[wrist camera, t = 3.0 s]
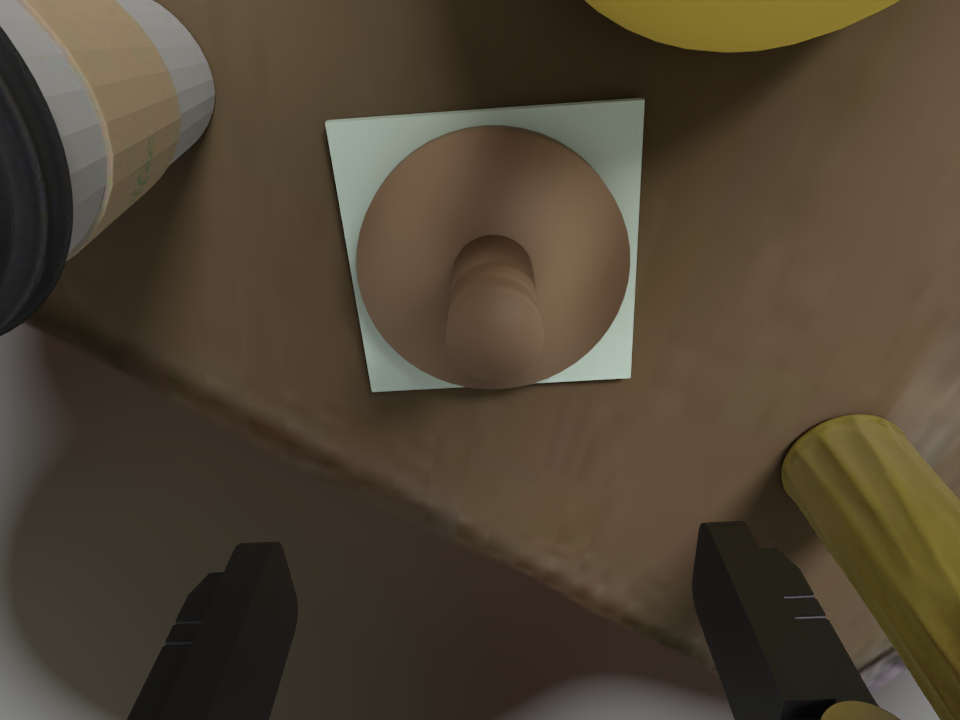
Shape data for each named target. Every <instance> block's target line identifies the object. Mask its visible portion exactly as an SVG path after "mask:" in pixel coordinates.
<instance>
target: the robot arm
mask: <svg viewBox="0 0 960 720" xmlns="http://www.w3.org/2000/svg"><path fill="white" fill-rule="evenodd" d="M692 591H693V599H694V605H695V609H696V613H697V616H698V619H699V622H700V624H701V627H702V630H703V633H704V636H705V638H706V641H707V644H708V647H709V650H710V652H711V655H712V658H713V661H714V663H715V666H716V669H717V672H718V675H719V677H720V680H721V683H722V686H723V689H724V691H725V694H726V697H727V700H728V702H729V705H730V708H731V711H732V713H733V717H734V719H735V720H900V719H899V718H897V717H896V716H894V715H893V714H892V713H890V712H888V711H886V710H884V709H882V708H880V707H879V706H878V704H877V703H876V702H875V700H874V698H873V697H872V695H871V694H870V692H869V690H868V688H867V687H866V685H865V683H864V681H863V680H862V678H861V676H860V674H859V672H858V671H857V669H856V667H855V665H854V664H853V662H852V660H851V658H850V657H849V655H848V653H847V651H846V650H845V648H844V646H843V644H842V643H841V641H840V639H839V637H838V636H837V634H836V632H835V630H834V628H833V627H832V625H831V623H830V621H829V620H827V619H826V617H825V613H824V611H823V609H822V607H821V606H820V604H819V602H818V600H817V599H815V598H814V593H813V592H812V590H811V588H810V586H809V585H808V583H807V581H806V579H805V577H804V576H803V574H802V572H801V570H800V569H799V568H798V567H797V566H796V565H794V564H793V563H792V562H791V561H790V560H789V559H788V558H787V557H785V556H784V555H783V554H782V553H781V552H780V551H779V550H778V549H776V548H771V549H759V548H758V546H757V544H756V542H755V540H754V538H753V536H752V534H751V532H750V530H749V528H748V527H747V525H746V524H745V523H744V522H743V521H731V522H710V523H702V524H701V525H700V528H699V533H698V540H697V548H696V555H695V563H694V571H693V579H692ZM297 607H298V605H297V597H296V593H295V589H294V585H293V582H292V578H291V575H290V571H289V568H288V564H287V560H286V558H285V553H284V550H283V547H282V545H281V543H279V542H261V543H240V544H238V545H237V546H236V548H235V549H234V551H233V553H232V556H231V558H230V560H229V562H228V564H227V567H226V569H225V571H224V572H221V573H209V574H208V575H207V576H206V577H205V578H204V579H203V580H202V582H201V583H200V584H199V585H198V586H197V587H196V588H195V589H194V590H193V591H192V592H191V593H190V594H189V595H188V597H187V599H186V601H185V603H184V605H183V607H182V609H181V611H180V613H179V615H178V617H177V619H176V625H173V627H172V629H171V631H170V633H169V635H168V637H167V639H166V645H165V646H163V647H162V649H161V652H160V654H159V656H158V658H157V660H156V662H155V664H154V666H153V668H152V670H151V672H150V674H149V676H148V678H147V680H146V682H145V684H144V686H143V688H142V690H141V692H140V694H139V696H138V698H137V700H136V702H135V704H134V706H133V708H132V710H131V712H130V715H129V717H128V719H127V720H269V718H270V714H271V711H272V708H273V704H274V701H275V697H276V694H277V691H278V687H279V683H280V680H281V677H282V674H283V670H284V667H285V663H286V660H287V656H288V653H289V650H290V646H291V643H292V639H293V636H294V633H295V629H296V624H297V614H298V608H297Z"/></svg>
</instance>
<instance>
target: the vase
mask: <svg viewBox="0 0 960 720" xmlns="http://www.w3.org/2000/svg"><path fill="white" fill-rule="evenodd" d="M781 477H782V483H783V487H784V489H785V492H786V493H787V494H788V495H789V497H790V498H791V499H792V500H793V501H795V503H796V504H797V506H798V507H799V509H800V510H801V512H802V513H803V514H804V516H805V517H806V519H807V520H808V522H809V523H810V525H811V526H812V528H813V530H814V531H815V533H816V534H817V536H818V537H819V539H820V540H821V541H822V543H823V544H824V546H825V547H826V549H827V550H828V551H829V553H830V554H831V555H832V557H833V558H834V559H835V561H836V562H837V563H838V565H839V566H840V568H841V569H842V570H843V572H844V573H845V575H846V576H847V578H848V579H849V581H850V582H851V584H852V585H853V586H854V588H855V589H856V591H857V592H858V594H859V595H860V597H861V598H862V600H863V601H864V603H865V604H866V606H867V607H868V608H869V610H870V611H871V613H872V614H873V616H874V618H875V619H876V621H877V622H878V624H879V625H880V627H881V628H882V630H883V631H884V633H885V634H886V636H887V637H888V639H889V640H890V642H891V643H892V645H893V646H894V648H895V649H896V651H897V652H898V654H899V655H900V657H901V658H902V660H903V662H904V663H905V665H906V667H907V668H908V670H909V671H910V673H911V675H912V676H913V678H914V679H915V681H916V683H917V684H918V686H919V687H920V689H921V690H922V692H923V694H924V695H925V697H926V698H927V700H928V701H929V703H930V704H931V706H932V707H933V709H934V710H935V712H936V714H937V715H938V717H939V718H940V720H960V500H959V499H958V498H957V497H956V496H955V495H954V493H953V492H952V491H951V490H950V489H949V488H948V487H947V486H946V485H945V484H944V482H943V481H942V480H941V479H940V478H939V477H938V475H937V474H936V473H935V472H934V471H933V469H932V468H931V467H930V466H929V465H928V463H927V462H926V461H925V460H924V459H923V458H922V456H921V455H920V454H919V453H918V452H917V451H916V449H915V448H914V447H913V446H912V445H911V444H910V443H909V441H908V440H907V438H906V437H905V435H904V433H903V432H902V431H901V430H900V429H899V428H898V427H897V426H896V425H894V424H893V423H891V422H889V421H888V420H886V419H883V418H881V417H878V416H874V415H867V414H851V415H844V416H839V417H836V418H833V419H830V420H827V421H825V422H822V423H820V424H819V425H817V426H815V427H813V428H812V429H810V430H809V431H807V432H806V433H805V434H804V435H802V436H801V437H800V438H799V439H798V440H797V441H796V442H795V443H794V444H793V446H792V447H791V448H790V450H789V452H788V453H787V455H786V457H785V459H784V462H783V465H782V471H781Z"/></svg>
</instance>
